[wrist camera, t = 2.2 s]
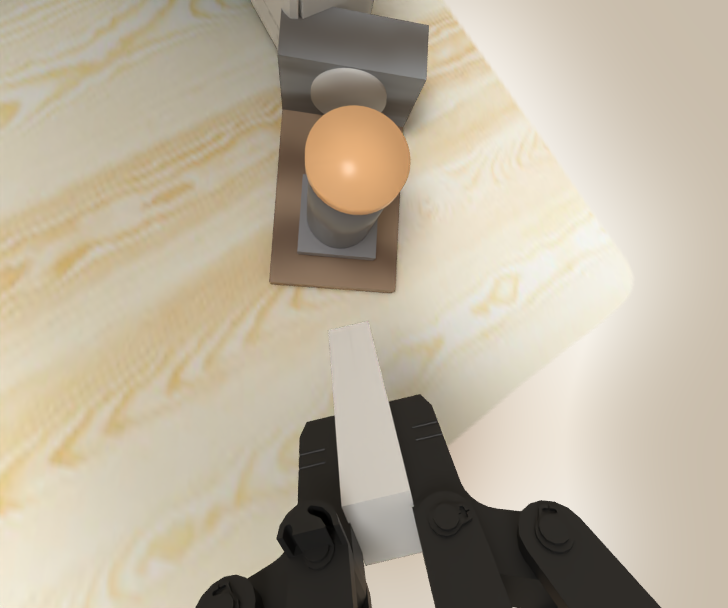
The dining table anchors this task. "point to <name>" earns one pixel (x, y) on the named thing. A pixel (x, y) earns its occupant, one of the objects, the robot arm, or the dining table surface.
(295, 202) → the knob mount
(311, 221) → the knob
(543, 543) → the robot arm
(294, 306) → the dining table surface
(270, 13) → the stereo radio cassette player
